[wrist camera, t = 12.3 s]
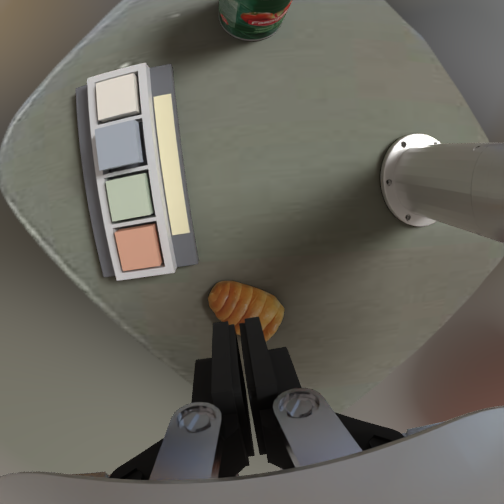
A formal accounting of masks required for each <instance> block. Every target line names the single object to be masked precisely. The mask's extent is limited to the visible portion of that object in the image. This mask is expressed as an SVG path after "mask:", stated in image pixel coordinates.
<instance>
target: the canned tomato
mask: <svg viewBox="0 0 504 504" xmlns="http://www.w3.org/2000/svg"><path fill="white" fill-rule="evenodd" d="M291 2H292V0H219V21H220V24H221V26H222V27H223V29H224V30H225V31H226V32H227V33H229V34H230V35H231V36H233V37H235V38H238V39H241V40H246V41H258V40H263V39H266V38H268V37H270V36H272V35H273V34H274V33H276V32H277V31H278V29H279V28H280V26H281V24H282V21H283V19H284V17H285V15H286V13H287V10H288V8H289V6H290V4H291Z"/></svg>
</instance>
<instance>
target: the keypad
mask: <svg viewBox="0 0 504 504" xmlns="http://www.w3.org/2000/svg"><path fill="white" fill-rule="evenodd" d="M132 73H134V74H135V76H136V77H137V79H138V92H139V103H140V114H136V115H131V116H127V117H123V118H119V119H115V120H111V121H107V122H102V121H99V120H98V111H97V96H96V83H99V82H102V81H106V80H109V79H113V78H116V77H120V76H124V75H128V74H132ZM76 106H77V121H78V132H79V143H80V152H81V160H82V168H83V175H84V182H85V189H86V195H87V201H88V207H89V212H90V218H91V223H92V228H93V233H94V238H95V242H96V247H97V251H98V255H99V260H100V264H101V268H102V272H103V276H104V277H110V276H116V279H117V281H118V280H126V279H133V278H140V277H148V276H155V275H162V274H169V273H175V270H176V268H177V267H181V266H188V265H195V264H198V261H199V259H198V253H197V247H196V241H195V235H194V229H193V223H192V217H191V210H190V204H189V197H188V190H187V184H186V177H185V169H184V162H183V155H182V147H181V139H180V131H179V122H178V114H177V105H176V96H175V86H174V76H173V67H172V65H171V64H167V65H162V66H157V67H152V68H149V67H148V65H147V64H146V63H142V64H137V65H133V66H129V67H125V68H121V69H118V70H114V71H110V72H107V73H103V74H100V75H97V76H93V77H90V78H87V85H84V86H81V87H78V88H76ZM130 120H136V121H138V122H139V132H140V140H141V148H142V156H143V162H141V163H136V164H132V165H127V166H122V167H118V168H113V169H109V170H102V171H99V164H98V156H97V148H96V139H95V129H98V128H102V127H106V126H110V125H114V124H118V123H122V122H126V121H130ZM143 173H148V178H149V185H150V192H151V198H152V204H153V210H154V213H152V214H151V215H146V216H140V217H135V218H129V219H124V220H118V221H113V222H112V217H111V211H110V206H109V200H108V194H107V188H106V181H109V180H114V179H119V178H123V177H128V176H133V175H138V174H143ZM153 223H156V227H157V233H158V238H159V244H160V249H161V254H162V259H163V262H162V263H161V265H160V266H155V267H148V268H141V269H134V270H127V271H123V269H122V265H121V260H120V256H119V251H118V247H117V242H116V237H115V232H116V231H118V230H119V229H124V228H129V227H135V226H141V225H147V224H153Z"/></svg>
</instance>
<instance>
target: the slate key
mask: <svg viewBox="0 0 504 504" xmlns="http://www.w3.org/2000/svg"><path fill="white" fill-rule="evenodd" d="M95 139H96V148H97V156H98V164H99V171H102V170H109V169H113V168H118V167H122V166H127V165H132V164H136V163H141V162H143V156H142V148H141V140H140V132H139V122H138V121H136V120H130V121H126V122H122V123H118V124H114V125H110V126H106V127H102V128H98V129H95Z"/></svg>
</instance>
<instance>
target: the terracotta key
mask: <svg viewBox="0 0 504 504" xmlns="http://www.w3.org/2000/svg"><path fill="white" fill-rule="evenodd" d="M115 237H116V242H117V247H118V251H119V256H120V260H121V265H122V269H123V271H127V270H134V269H141V268H148V267H155V266H160V265H161V263H162V262H163V259H162V254H161V249H160V244H159V238H158V233H157V227H156V223H153V224H147V225H141V226H135V227H129V228H124V229H119V230H118V231H116V232H115Z"/></svg>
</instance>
